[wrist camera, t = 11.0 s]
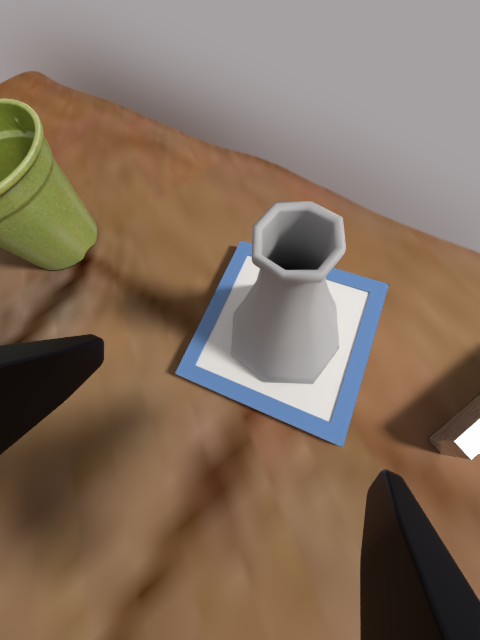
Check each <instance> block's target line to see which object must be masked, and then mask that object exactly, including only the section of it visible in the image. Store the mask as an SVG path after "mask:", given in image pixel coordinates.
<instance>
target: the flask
mask: <svg viewBox="0 0 480 640" xmlns="http://www.w3.org/2000/svg"><path fill="white" fill-rule="evenodd" d="M345 250H346V245H345V235H344V225H343V217H341V216H339V215H337V214H335V213H333V212H331V211H329V210H327V209H325V208H324V207H322V206H320V205H318V204H316V203H314V202H312V201H300V202H275V203H274V204H273V205H272V206H271V207H270V208H269V209H268V211H267V212H266V213H265V214H264V215H263V216H262V217H261V218H260V219H259V220H258V221H257V222H256V223H255V224H254V226H253V238H252V262H253V264H254V265H255V266H257V267H259V268H260V270H259V274H258V277H257V280H256V282H255V283H254V285H253V287H252V288H251V290H250V291H249V293H248V294H247V296H246V297H245V299H244V300H243V301H242V303H241V304H240V305H239V306H238V308H237V309H236V310H235V312H234V313H233V329H232V345H231V355H232V356H234V357H235V358H236V359H237V360H239V361H240V362H241V363H242V364H244V365H245V366H246V367H247V368H249V369H250V370H251V371H252V372H254V373H255V374H256V375H257V376H259V377H260V378H261V379H262V380H264V381H265V382H269V383H298V384H314V382H315V381H316V379H317V378H318V377H319V375H320V374H321V373H322V371H323V370H324V369H325V367H326V366H327V364H328V363H329V362H330V360H331V359H332V358H333V356H334V355H335V354H336V352H337V351H338V349H339V336H338V323H337V310H336V304H335V302H334V300H333V298H332V296H331V294H330V292H329V289H328V286H327V283H326V276H327V275H328V273H329V272H330V271H331V270H332V268H333V267H334V266H335V265H336V263H337V262H338V261H339V260H340V258H341V257H342V256H343V255H344V253H345Z"/></svg>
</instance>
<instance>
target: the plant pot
mask: <svg viewBox="0 0 480 640" xmlns="http://www.w3.org/2000/svg"><path fill="white" fill-rule="evenodd" d="M96 239H97V225H96V223H95V221H94V219H93V218H92V216H91V215H90V213H89V212H88V210H87V209H86V207H85V206H84V204H83V202H82V201H81V199H80V198H79V196H78V195H77V193H76V192H75V190H74V188H73V187H72V185H71V184H70V182H69V181H68V179H67V178H66V176H65V174H64V173H63V171H62V170H61V168H60V167H59V165H58V163H57V162H56V160H55V159H54V157H53V156H52V152H51V149H50V146H49V144H48V142H47V141H46V139H45V137H44V131H43V126H42V123H41V120H40V119H39V117H38V115H37V114H36V113H35V111H34V110H33V109H32V108H31V107H30V106H28V105H27V104H25V103H23V102H20V101H17V100H13V99H0V247H1V248H3V249H5V250H7V251H9V252H11V253H13V254H15V255H17V256H19V257H21V258H23V259H25V260H27V261H29V262H31V263H33V264H35V265H37V266H39V267H41V268H44V269H47V270H61V269H65V268H68V267H70V266H72V265H75V264H76V263H78V262H79V261H81V260H82V259H83V258H84V256H85V254H86V252H87V250H88V249H89V248H90V247H91V246H93V245H94V244H95V242H96Z"/></svg>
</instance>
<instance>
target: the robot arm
mask: <svg viewBox="0 0 480 640" xmlns="http://www.w3.org/2000/svg"><path fill="white" fill-rule="evenodd" d="M103 360H104V341H103V339H102V338H100V337H97V336H95V335H92V334H88V335H81V336H73V337H65V338H57V339H49V340H42V341H34V342H26V343H18V344H10V345H3V346H0V455H1V454H2V453H3V452H4V451H5V450H7V449H8V448H9V447H10V446H12V445H13V444H14V443H15V442H16V441H18V440H19V439H20V438H21V437H22V436H24V435H25V434H26V433H27V432H28V431H30V430H31V429H32V428H33V427H34V426H36V425H37V424H38V423H39V422H40V421H42V420H43V419H44V418H45V417H46V416H48V415H49V414H50V413H51V412H52V411H54V410H55V409H56V408H57V407H58V406H60V405H61V404H62V403H63V402H64V401H65V400H67V399H68V398H69V397H70V396H71V395H72V394H73V393H74V392H75V391H76V390H77V389H78V388H79V387H80V386H81V385H82V384H83V383H84V382H85V381H86V380H87V379H88V378H89V377H90V376H91V375H92V374H93V373H94V372H95V371H96V370H97V369H98V368H99V367H100V366H101V364H102V363H103ZM360 616H361V640H480V601H479V599H478V598H477V596H476V594H475V593H474V591H473V590H472V588H471V586H470V585H469V583H468V582H467V580H466V578H465V577H464V575H463V574H462V572H461V570H460V569H459V567H458V566H457V564H456V562H455V561H454V559H453V558H452V556H451V554H450V553H449V551H448V550H447V548H446V546H445V545H444V543H443V542H442V540H441V538H440V537H439V535H438V534H437V532H436V530H435V529H434V527H433V526H432V524H431V522H430V521H429V519H428V518H427V516H426V514H425V513H424V511H423V510H422V508H421V507H420V505H419V503H418V502H417V500H416V499H415V497H414V495H413V494H412V492H411V491H410V489H409V487H408V486H407V484H406V483H405V481H404V479H403V478H402V477H401V476H400V475H398V474H396V473H394V472H391V471H389V470H387V469H384V470H382V471H381V472H380V473H379V475H378V476H377V478H376V479H375V480H374V482H373V483H372V485H371V486H370V488H369V490H368V493H367V500H366V509H365V519H364V529H363V538H362V548H361V563H360Z"/></svg>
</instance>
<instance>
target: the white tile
mask: <svg viewBox="0 0 480 640" xmlns="http://www.w3.org/2000/svg"><path fill="white" fill-rule="evenodd" d="M259 270H260V268H259V267H257V266H255V265H254V264H253V262H252V244H251V243H247V242H244V241H240V243H239V245H238V247H237V249H236V251H235V253H234V255H233V257H232V259H231V261H230V263H229V265H228V267H227V269H226V271H225V273H224V275H223V277H222V279H221V281H220V283H219V285H218V287H217V289H216V292H215V294H214V296H213V298H212V300H211V302H210V304H209V306H208V308H207V310H206V312H205V314H204V316H203V318H202V320H201V322H200V324H199V326H198V328H197V330H196V332H195V334H194V336H193V338H192V340H191V342H190V344H189V346H188V348H187V350H186V352H185V354H184V356H183V358H182V360H181V362H180V364H179V366H178V368H177V370H176V372H175V374H177V375H178V376H181V377H183V378H185V379H187V380H190V381H192V382H194V383H197V384H199V385H201V386H203V387H206V388H208V389H210V390H212V391H215V392H217V393H219V394H222V395H224V396H226V397H228V398H231V399H233V400H235V401H237V402H240V403H242V404H244V405H247V406H249V407H251V408H253V409H256V410H258V411H260V412H262V413H265V414H267V415H269V416H272V417H274V418H276V419H278V420H281V421H283V422H285V423H288V424H290V425H292V426H294V427H297V428H299V429H301V430H303V431H306V432H308V433H310V434H313V435H315V436H317V437H319V438H322V439H324V440H326V441H328V442H331V443H333V444H335V445H338V446H340V447H343V445H344V442H345V438H346V435H347V431H348V428H349V424H350V421H351V417H352V414H353V410H354V406H355V403H356V399H357V396H358V392H359V389H360V385H361V382H362V378H363V375H364V371H365V367H366V364H367V360H368V357H369V353H370V350H371V346H372V343H373V339H374V336H375V332H376V329H377V325H378V321H379V318H380V314H381V311H382V307H383V304H384V300H385V297H386V293H387V290H388V286H389V284H386V283H383V282H380V281H376V280H373V279H369V278H366V277H363V276H359V275H356V274H352V273H349V272H346V271H342V270H339V269H335V268H332V270H331V271H330V272H329V273H328V275H327V276H326V283H327V286H328V289H329V292H330V294H331V296H332V298H333V300H334V302H335V304H336V310H337V323H338V336H339V349H338V351H337V352H336V354H335V355H334V356H333V358H332V359H331V360H330V362H329V363H328V364H327V366H326V367H325V369H324V370H323V371H322V373H321V374H320V375H319V377H318V378H317V379H316V381H315V382H314V384H298V383H269V382H265V381H264V380H262V379H261V378H260V377H259V376H257V375H256V374H255V373H254V372H252V371H251V370H250V369H249V368H247V367H246V366H245V365H244V364H242V363H241V362H240V361H239V360H237V359H236V358H235V357H234V356H232V355H231V345H232V329H233V313H234V312H235V310H236V309H237V308H238V306H239V305H240V304H241V303H242V301H243V300H244V299H245V297H246V296H247V294H248V293H249V291H250V290H251V288H252V287H253V285H254V283H255V282H256V280H257V277H258V274H259Z"/></svg>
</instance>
